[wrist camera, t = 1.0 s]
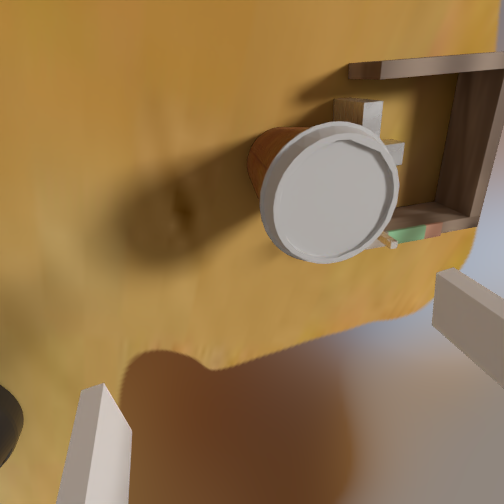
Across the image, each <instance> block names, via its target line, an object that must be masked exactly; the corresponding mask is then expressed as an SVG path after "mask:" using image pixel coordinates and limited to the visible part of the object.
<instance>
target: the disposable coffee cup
mask: <svg viewBox="0 0 504 504" xmlns="http://www.w3.org/2000/svg"><path fill="white" fill-rule="evenodd" d="M247 169H248V174H249V177H250V179H251V181H252V184H253V186H254V189H255V192H256V194H257V197H258V199H259V202H260V213H261V219H262V222H263V225H264V228H265V230H266V232H267V234H268V236H269V237H270V239H271V240H272V242H273V243H274V244H275V245H276V246H277V247H278V248H279V249H280V250H282V251H283V252H284V253H286V254H287V255H290V256H292V257H294V258H296V259H300V260H304V261H308V262H313V263H322V264H329V263H334V262H339V261H343V260H346V259H348V258H351V257H353V256H355V255H357V254H359V253H360V252H362V251H363V250H364V249H366V248H367V247H369V246H370V245H371V244H372V243H373V242H374V241H375V240H376V239H377V238H378V237H379V236H380V235H381V233H382V232H383V230H384V229H385V227H386V226H387V224H388V223H389V222H390V220H391V217H392V215H393V212H394V209H395V207H396V204H397V200H398V192H399V178H398V171H397V168H396V165H395V162H394V160H393V158H392V156H391V155H390V154H389V152H388V150H387V147H386V146H385V145H384V143H383V142H382V141H381V139H380V138H379V137H378V136H377V135H376V134H374V133H373V132H372V131H371V130H369V129H367V128H365V127H363V126H361V125H358V124H354V123H350V122H342V121H336V122H327V123H324V124H320V125H316V126H312V127H277V128H273V129H270V130H268V131H266V132H265V133H263V134H262V135H261V136H259V137H258V138H257V139H256V141H255V142H254V143H253V145H252V147H251V149H250V152H249V154H248V159H247Z"/></svg>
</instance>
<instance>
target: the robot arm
mask: <svg viewBox="0 0 504 504" xmlns="http://www.w3.org/2000/svg"><path fill="white" fill-rule="evenodd" d="M432 326H434V327H435V328H436V329H437V330H438V331H439V332H440V333H441V334H443V335H444V336H445V337H446V338H447V339H448V340H449V341H450V342H452V343H453V344H454V345H455V346H456V347H457V348H458V349H460V350H461V351H462V352H463V353H464V354H465V355H466V356H468V357H469V358H470V359H471V360H472V361H473V362H474V363H475V364H476V365H478V366H479V367H480V368H481V369H482V370H483V371H485V372H486V373H487V374H488V375H489V376H490V377H491V378H492V379H493V380H495V381H496V382H497V383H498V384H499V385H500V386H501V387H502V388H504V299H503V298H501V297H500V296H498V295H496V294H495V293H493V292H491V291H490V290H488V289H487V288H485V287H484V286H482V285H481V284H479V283H477V282H476V281H474V280H473V279H471V278H469V277H468V276H466V275H465V274H463V273H461V272H460V271H458V270H457V269H455V268H454V267H453V268H450V269H447V270H444V271H441V272H438V273H436V284H435V295H434V307H433V318H432ZM22 428H23V412H22V409H21V407H20V405H19V403H18V401H17V400H16V399H15V397H14V396H13V395H12V394H11V393H10V392H9V391H8V390H6V389H5V388H4V387H2V386H1V385H0V467H2V465H3V464H4V463H5V462H6V461H7V460H8V458H9V457H10V455H11V454H12V452H13V450H14V448H15V446H16V444H17V441H18V439H19V436H20V433H21V431H22ZM131 441H132V430H131V428H130V426H129V425H128V423H127V421H126V420H125V418H124V416H123V415H122V413H121V411H120V409H119V408H118V406H117V404H116V403H115V401H114V399H113V398H112V396H111V394H110V392H109V391H108V389H107V387H106V386H105V384H104V383H102V384H99V385H96V386H93V387H90V388H87V389H84V390H81V395H80V399H79V403H78V408H77V412H76V417H75V421H74V426H73V430H72V435H71V439H70V443H69V448H68V452H67V457H66V461H65V466H64V470H63V475H62V479H61V483H60V488H59V492H58V497H57V501H56V504H128V495H129V477H130V459H131V458H130V457H131Z"/></svg>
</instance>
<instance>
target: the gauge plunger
mask: <svg viewBox="0 0 504 504" xmlns="http://www.w3.org/2000/svg"><path fill="white" fill-rule="evenodd" d="M382 108H383V101H379V100H370V99H361V98H352V97H348V98H338V99H334V108H333V122H336V121H342V122H350V123H354V124H358V125H361V126H363V127H365V128H367V129H369V130H371V131H372V132H373V133H374V134H376V135H377V136H378V137H380V127H381V118H382ZM381 141H382V142H383V143H384V145H385V146H386V147H387V150H388V152H389V154H390V155H391V156H392V158H393V160H394V162H395V165H402V159H403V152H404V144H405V143H404V142H401V141H397V140H393V139H389V140H381ZM377 239H378V240H379V241H380V242H382V243H383V244H384V245H386V246H387V247H388V248H390V249H393V248H397V244H398V241H397V240H395V239H394V238H392V237H391V236H390V235H388V234H387V233H385V232H384V231H383V232H382V233H381V235H380V236H379V237H378V238H377Z"/></svg>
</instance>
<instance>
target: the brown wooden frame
mask: <svg viewBox="0 0 504 504" xmlns="http://www.w3.org/2000/svg"><path fill="white" fill-rule="evenodd" d="M447 73H459V74H458V80H457V85H456V90H455V96H454V101H453V106H452V111H451V117H450V122H449V127H448V133H447V138H446V143H445V148H444V154H443V159H442V164H441V169H440V175H439V180H438V185H437V191H436V196H435V201H433V202H427V203H421V204H415V205H409V206H403V207H397V208H395V209H394V212H393V215H392V217H391V220H390V222H389V223H388V224H387V226H386V227H385V229H384V230H383V231H384V232H385V233H387V234H388V235H390V236H391V237H392V238H394V239H395V240H397V241H398V244H399V243H404V242H410V241H415V240H421V239H426V238H431V237H437V236H440V234H441V233H445V232H450V231H456V230H461V229H467V228H472V227H477V225H478V221H479V218H480V214H481V210H482V206H483V202H484V198H485V195H486V191H487V187H488V183H489V179H490V175H491V171H492V168H493V163H494V160H495V156H496V152H497V148H498V145H499V141H500V137H501V133H502V129H503V125H504V52H489V53H475V54H462V55H449V56H437V57H424V58H411V59H398V60H386V61H373V62H360V63H349V76H348V79H391V78H403V77H414V76H425V75H436V74H447ZM383 246H386V245H384V244H383V243H382V242H380V241H379V240H378V239H376V240H375V241H374V242H373V243H372V244H371V245H370V246H369V247H367V248H366V250H367V249H372V248H377V247H383Z"/></svg>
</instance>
